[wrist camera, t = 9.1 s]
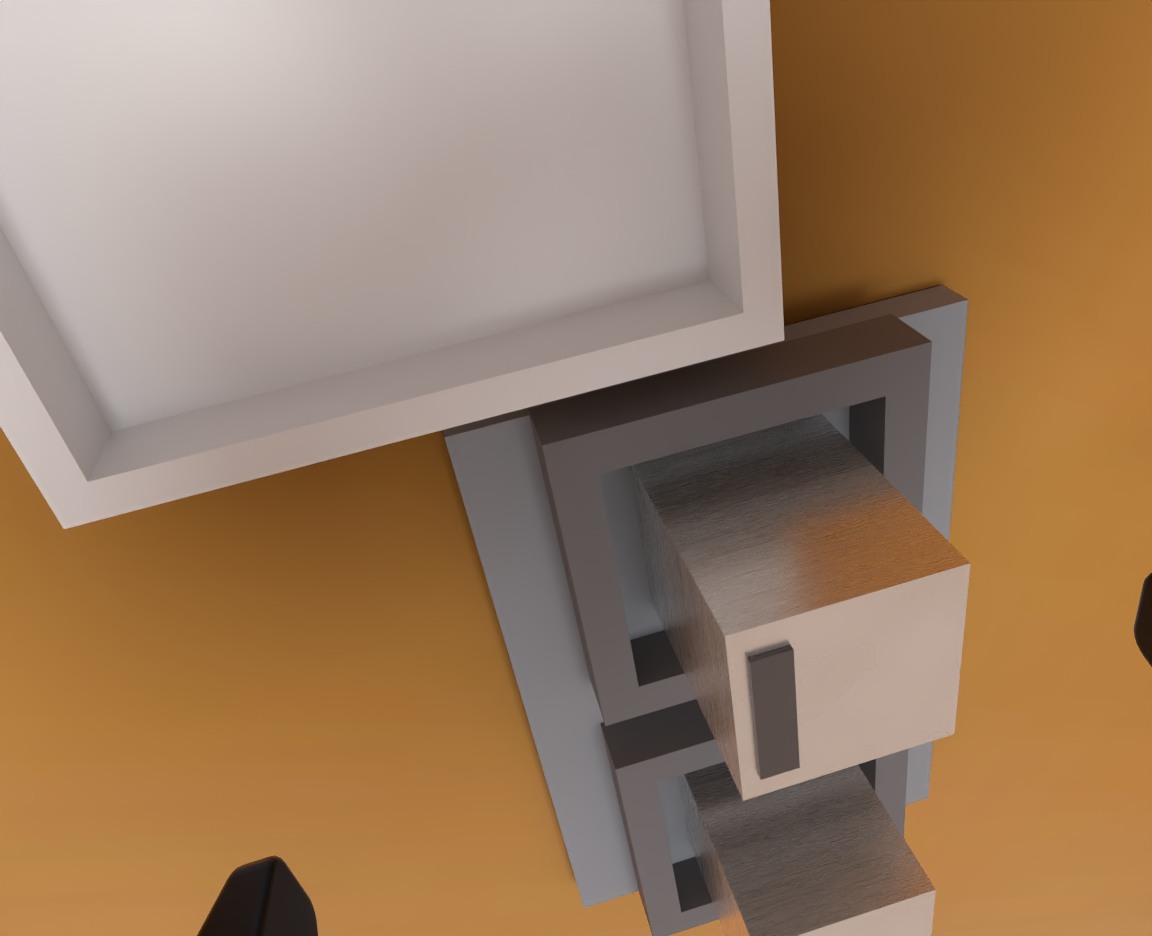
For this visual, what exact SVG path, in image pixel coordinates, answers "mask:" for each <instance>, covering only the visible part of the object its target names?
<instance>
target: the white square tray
mask: <svg viewBox="0 0 1152 936" xmlns="http://www.w3.org/2000/svg"><path fill="white" fill-rule="evenodd" d="M780 341H784V318H783V295H782V272H781V249H780V226H779V203H778V180H777V157H776V134H775V111H774V88H773V65H772V42H771V19H770V0H0V427H1V428H2V430H3V432H4V433H5V435H6V436H7V438H8V440H9V441H10V443H11V445H12V446H13V448H14V449H15V451H16V453H17V454H18V456H19V457H20V459H21V461H22V462H23V464H24V466H25V467H26V469H27V470H28V472H29V474H30V475H31V477H32V479H33V480H34V482H35V483H36V485H37V487H38V488H39V490H40V491H41V493H42V495H43V496H44V498H45V500H46V501H47V503H48V504H49V506H50V508H51V509H52V511H53V512H54V514H55V516H56V517H57V519H58V521H59V522H60V524H61V525H62V527H63V529H67V528H71V527H74V526H78V525H82V524H86V523H90V522H93V521H97V520H101V519H105V518H109V517H113V516H116V515H120V514H124V513H128V512H132V511H135V510H139V509H143V508H147V507H151V506H154V505H158V504H162V503H166V502H170V501H174V500H177V499H181V498H185V497H189V496H193V495H196V494H200V493H204V492H208V491H212V490H215V489H219V488H223V487H227V486H231V485H235V484H238V483H242V482H246V481H250V480H254V479H257V478H261V477H265V476H269V475H273V474H276V473H280V472H284V471H288V470H292V469H296V468H299V467H303V466H307V465H311V464H315V463H318V462H322V461H326V460H330V459H334V458H337V457H341V456H345V455H349V454H353V453H357V452H360V451H364V450H368V449H372V448H376V447H379V446H383V445H387V444H391V443H395V442H398V441H402V440H406V439H410V438H414V437H418V436H421V435H425V434H429V433H433V432H437V431H440V430H444V429H448V428H452V427H456V426H460V425H463V424H467V423H471V422H475V421H479V420H482V419H486V418H490V417H494V416H498V415H501V414H505V413H509V412H513V411H517V410H521V409H524V408H528V407H532V406H536V405H540V404H543V403H547V402H551V401H555V400H559V399H562V398H566V397H570V396H574V395H578V394H582V393H585V392H589V391H593V390H597V389H601V388H604V387H608V386H612V385H616V384H620V383H623V382H627V381H631V380H635V379H639V378H643V377H646V376H650V375H654V374H658V373H662V372H665V371H669V370H673V369H677V368H681V367H684V366H688V365H692V364H696V363H700V362H704V361H707V360H711V359H715V358H719V357H723V356H726V355H730V354H734V353H738V352H742V351H745V350H749V349H753V348H757V347H761V346H765V345H768V344H772V343H776V342H780Z"/></svg>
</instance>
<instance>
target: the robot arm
mask: <svg viewBox="0 0 1152 936" xmlns="http://www.w3.org/2000/svg"><path fill="white" fill-rule="evenodd" d="M1134 635H1135V639H1136V642H1137V645H1138V647H1139V649H1140V651H1141V652H1142V654H1143V656H1144V657H1145V658H1146V660H1147V661H1148V662H1149V664H1150V665H1151V666H1152V573H1151V574H1149V575H1148V576H1147V577H1146V579H1145V581H1144V583H1143V588H1142V592H1141V597H1140V602H1139V606H1138V611H1137V616H1136V620H1135V625H1134ZM197 936H318V930H317V921H316V915H315V911H314V908H313V905H312V903H311V900H310V899H309V897H308V895H307V894H306V892H305V891H304V889H303V888H302V887H301V885H300V884H299V882H298V881H297V879H296V878H295V876H294V875H293V873H292V872H291V870H290V869H289V868H288V866H287V865H286V863H285V862H284V861H283V860H282V859H281V858H279V857H277V856H270V857H267V858H263V859H260V860H257V861H254V862H251V863H248V864H245V865H242V866H240V867H238V868H237V869H235V870H234V871H233V872H232V874H231V875H230V876H229V878H228V879H227V881H226V883H225V885H224V887H223V889H222V890H221V892H220V894H219V896H218V898H217V900H216V902H215V903H214V905H213V907H212V909H211V911H210V913H209V914H208V916H207V918H206V920H205V922H204V924H203V926H202V927H201V929H200V931H199V933H198V935H197Z"/></svg>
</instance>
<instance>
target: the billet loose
mask: <svg viewBox="0 0 1152 936" xmlns="http://www.w3.org/2000/svg"><path fill="white" fill-rule="evenodd" d="M630 470H631V476H632V482H633V488H634V494H635V500H636V506H637V512H638V518H639V523H640V529H641V535H642V541H643V547H644V553H645V559H646V565H647V571H648V577H649V583H650V589H651V595H652V601H653V606H654V608H655V611H656V613H657V615H658V617H659V619H660V621H661V624H662V626H663V628H664V630H665V632H666V634H667V637H668V639H669V641H670V643H671V645H672V647H673V650H674V652H675V654H676V656H677V658H678V660H679V663H680V665H681V667H682V669H683V671H684V673H685V676H686V678H687V680H688V682H689V684H690V686H691V689H692V691H693V693H694V695H695V697H696V700H697V702H698V704H699V706H700V708H701V710H702V713H703V715H704V717H705V719H706V721H707V723H708V726H709V728H710V730H711V732H712V734H713V736H714V739H715V741H716V743H717V745H718V747H719V749H720V752H721V754H722V756H723V758H724V760H725V762H726V765H727V767H728V769H729V771H730V773H731V775H732V778H733V780H734V782H735V784H736V786H737V789H738V791H739V793H740V795H741V797H742V799H743V801H744V800H747V799H750V798H754V797H757V796H760V795H763V794H766V793H769V792H773V791H776V790H779V789H782V788H785V787H788V786H792V785H795V784H798V783H801V782H804V781H807V780H810V779H814V778H817V777H820V776H823V775H826V774H829V773H833V772H836V771H839V770H842V769H845V768H848V767H852V766H855V765H858V764H861V763H864V762H867V761H870V760H874V759H877V758H880V757H883V756H886V755H889V754H893V753H896V752H899V751H902V750H905V749H908V748H912V747H915V746H918V745H921V744H924V743H927V742H930V741H934V740H937V739H940V738H943V737H946V736H949V735H953V734H954V731H955V721H956V710H957V700H958V689H959V678H960V668H961V657H962V647H963V636H964V626H965V615H966V605H967V594H968V584H969V573H970V562H969V561H968V560H967V559H966V558H965V557H964V556H963V555H962V554H961V553H960V552H959V551H958V550H957V549H956V548H955V547H954V546H953V545H952V544H951V543H950V542H949V541H948V540H947V539H946V538H945V537H944V536H943V535H942V534H941V533H940V532H939V531H938V530H937V529H936V528H935V527H934V526H933V525H932V524H931V523H930V522H929V521H928V520H927V519H926V518H925V517H924V516H923V515H922V514H921V513H920V512H919V511H918V510H917V509H916V508H915V507H914V506H913V505H912V504H911V503H910V502H909V501H908V500H907V499H906V498H905V497H904V496H903V495H902V494H901V493H900V492H899V491H898V490H897V489H896V488H895V487H894V486H893V485H892V484H891V483H890V482H889V481H888V480H887V479H886V478H885V477H884V476H883V475H882V474H881V473H880V472H879V471H878V470H877V469H876V468H875V467H874V466H873V465H872V464H871V463H870V462H869V461H868V460H867V459H866V458H865V457H864V456H863V455H862V454H861V453H860V452H859V451H858V450H857V449H856V448H855V447H854V446H853V445H852V444H851V443H850V442H849V441H848V440H847V439H846V438H845V437H844V436H843V435H842V434H841V433H840V432H839V431H838V430H837V429H836V428H835V427H834V426H833V425H832V424H831V423H830V422H829V421H828V420H827V419H826V418H825V417H824V416H823V415H822V414H819V415H815V416H811V417H808V418H804V419H800V420H797V421H793V422H789V423H785V424H782V425H778V426H774V427H771V428H767V429H763V430H760V431H756V432H752V433H749V434H745V435H741V436H738V437H734V438H730V439H727V440H723V441H719V442H716V443H712V444H708V445H705V446H701V447H697V448H694V449H690V450H686V451H683V452H679V453H675V454H671V455H668V456H664V457H660V458H657V459H653V460H649V461H646V462H642V463H638V464H635V465H631V466H630Z"/></svg>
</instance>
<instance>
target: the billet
mask: <svg viewBox="0 0 1152 936" xmlns="http://www.w3.org/2000/svg"><path fill="white" fill-rule="evenodd" d="M679 782H680V788H681V794H682V800H683V806H684V812H685V818H686V824H687V830H688V836H689V842H690V844H691V847H692V849H693V852H694V855H695V857H696V860H697V863H698V865H699V868H700V870H701V873H702V876H703V878H704V881H705V884H706V886H707V889H708V891H709V894H710V897H711V899H712V902H713V905H714V907H715V910H716V912H717V915H718V918H719V920H720V923H721V926H722V928H723V931H724V933H725V936H931V933H932V923H933V912H934V902H935V892H936V889H935V888H934V886H933V885H932V883H931V881H930V880H929V878H928V877H927V875H926V873H925V872H924V870H923V868H922V867H921V865H920V864H919V862H918V860H917V859H916V857H915V856H914V854H913V852H912V851H911V849H910V847H909V846H908V844H907V843H906V841H905V839H904V838H903V836H902V835H901V833H900V831H899V830H898V828H897V826H896V825H895V823H894V822H893V820H892V818H891V817H890V815H889V814H888V812H887V810H886V809H885V807H884V805H883V804H882V802H881V801H880V799H879V797H878V796H877V794H876V793H875V791H874V789H873V788H872V786H871V785H870V783H869V781H868V780H867V778H866V776H865V775H864V773H863V772H862V770H861V768H860V767H859V765H855V766H852V767H848V768H845V769H842V770H839V771H836V772H833V773H829V774H826V775H823V776H820V777H817V778H814V779H810V780H807V781H804V782H801V783H798V784H795V785H792V786H788V787H785V788H782V789H779V790H776V791H773V792H769V793H766V794H763V795H760V796H757V797H754V798H750V799H747V800H744V801H743V799H742V797H741V795H740V793H739V791H738V789H737V786H736V784H735V782H734V780H733V778H732V775H731V773H730V771H729V769H728V767H727V765H726V762H722V763H719V764H716V765H712V766H709V767H706V768H703V769H699V770H696V771H693V772H690V773H687V774H683V775H680V776H679Z"/></svg>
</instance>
